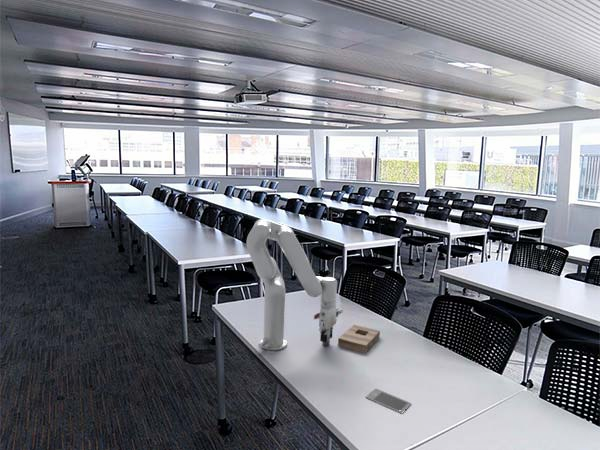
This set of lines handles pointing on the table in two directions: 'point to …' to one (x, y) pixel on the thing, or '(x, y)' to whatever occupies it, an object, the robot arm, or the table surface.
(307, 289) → the robot arm
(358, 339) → the socket block
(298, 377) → the table surface
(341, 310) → the pliers
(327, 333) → the pin
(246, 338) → the table surface
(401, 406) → the smartphone
